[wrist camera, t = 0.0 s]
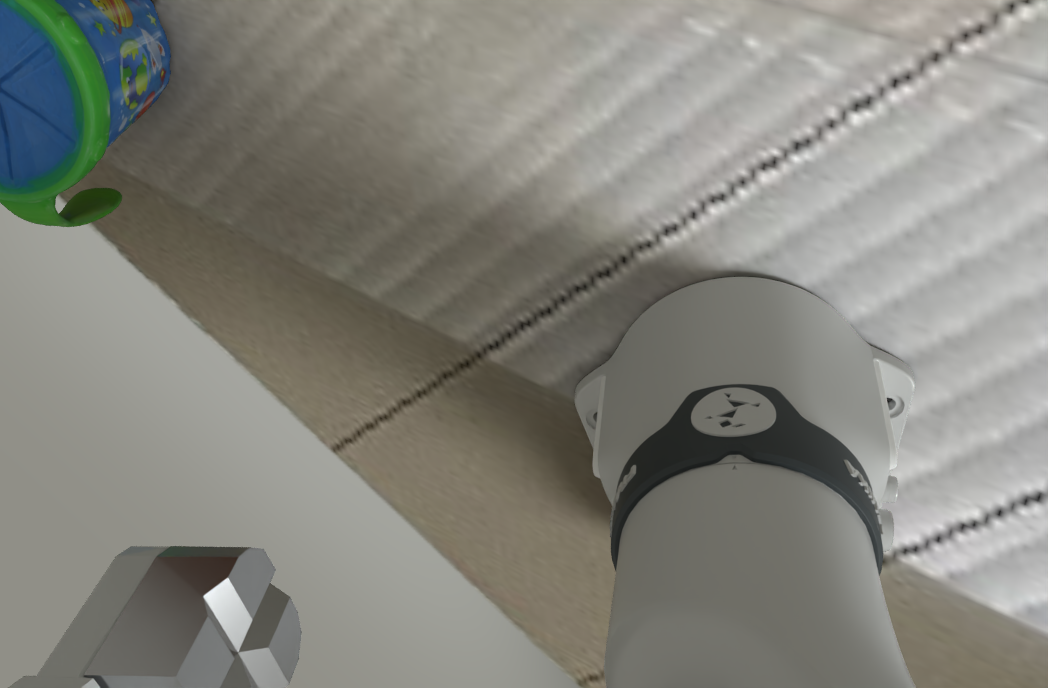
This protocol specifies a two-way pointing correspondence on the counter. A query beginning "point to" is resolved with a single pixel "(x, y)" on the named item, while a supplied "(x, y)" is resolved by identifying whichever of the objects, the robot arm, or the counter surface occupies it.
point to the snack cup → (71, 98)
